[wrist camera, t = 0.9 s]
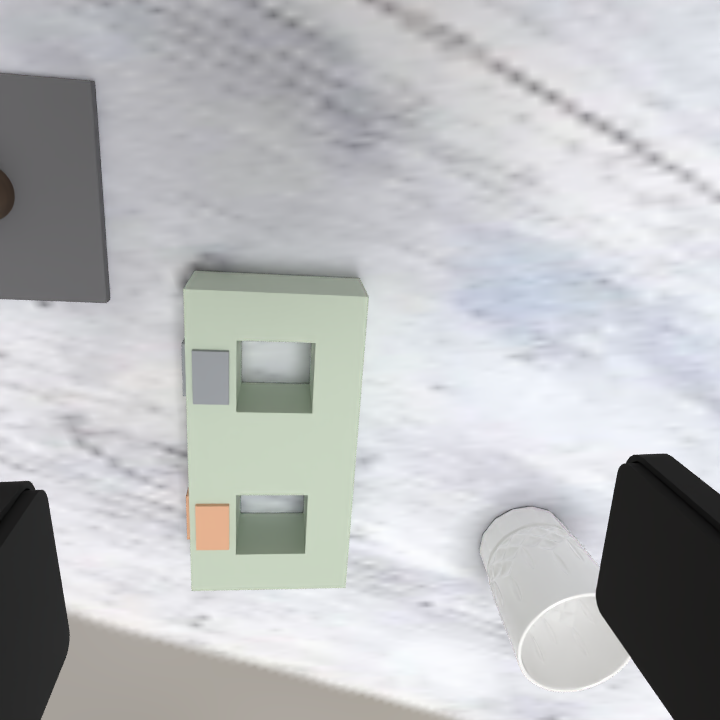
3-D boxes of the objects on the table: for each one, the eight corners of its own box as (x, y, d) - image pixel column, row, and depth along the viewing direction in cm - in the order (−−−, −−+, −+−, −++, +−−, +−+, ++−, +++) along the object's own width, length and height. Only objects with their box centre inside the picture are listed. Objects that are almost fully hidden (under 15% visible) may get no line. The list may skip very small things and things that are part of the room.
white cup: (459, 520, 46) (504, 620, 36) (560, 484, 46) (630, 576, 36) (485, 597, 49) (533, 708, 39) (580, 564, 48) (649, 667, 39)
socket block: (189, 270, 37) (176, 290, 32) (359, 278, 38) (369, 298, 34) (196, 546, 44) (185, 594, 39) (339, 545, 45) (345, 590, 41)
